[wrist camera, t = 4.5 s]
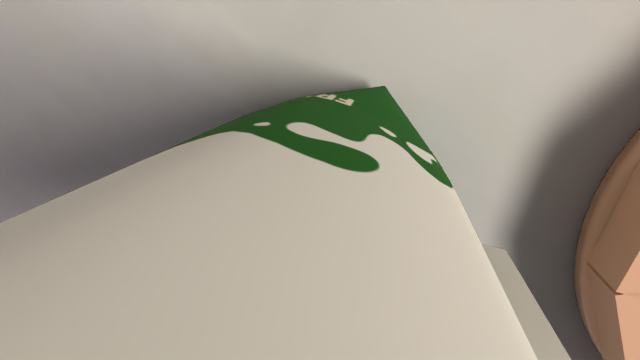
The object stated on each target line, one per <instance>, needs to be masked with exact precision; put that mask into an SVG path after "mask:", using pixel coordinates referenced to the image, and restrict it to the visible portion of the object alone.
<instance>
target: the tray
mask: <svg viewBox="0 0 640 360" xmlns="http://www.w3.org/2000/svg"><path fill="white" fill-rule="evenodd" d="M574 278H575V289H576V299H577V302H578V306H579V310H580V313H581V317H582V320H583V323H584V325H585V327H586V329H587V331H588V333H589V335H590V337H591V339H592V341H593V343H594V345H595V346H596V347H597V349H598V350H599V352H600V353H601V355H602V358H603V360H640V129H639V131H638V132H637V133H636V134H635V135H634V136H633V137H632V138H631V140H630V141H629V142H628V144H627V145H626V146H625V148H624V149H623V150H622V151H621V153H620V154H619V155H618V157H617V158H616V159H615V161H614V162H613V163H612V165H611V166H610V168H609V170H608V171H607V173H606V175H605V176H604V178H603V180H602V182H601V183H600V185H599V187H598V189H597V190H596V192H595V194H594V196H593V198H592V201H591V203H590V206H589V208H588V210H587V213H586V215H585V218H584V220H583V223H582V227H581V231H580V235H579V239H578V243H577V248H576V257H575V270H574Z"/></svg>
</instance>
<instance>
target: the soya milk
mask: <svg viewBox="0 0 640 360" xmlns="http://www.w3.org/2000/svg"><path fill="white" fill-rule="evenodd" d="M0 360H537V357H536V355H535V353H534V351H533V349H532V347H531V345H530V343H529V341H528V339H527V337H526V335H525V333H524V331H523V329H522V327H521V325H520V323H519V320H518V318H517V316H516V314H515V312H514V310H513V308H512V306H511V304H510V302H509V300H508V298H507V296H506V294H505V292H504V290H503V288H502V286H501V283H500V281H499V279H498V277H497V275H496V273H495V271H494V269H493V267H492V265H491V263H490V261H489V259H488V257H487V255H486V253H485V251H484V249H483V247H482V245H481V243H480V240H479V238H478V236H477V234H476V232H475V230H474V228H473V226H472V224H471V222H470V220H469V218H468V216H467V214H466V212H465V210H464V208H463V206H462V204H461V202H460V200H459V198H458V196H457V194H456V192H455V190H454V188H453V186H452V184H451V182H450V180H449V179H448V177H447V175H446V174H445V172H444V170H443V169H442V167H441V165H440V164H439V162H438V161H437V159H436V158H435V156H434V155H433V153H432V152H431V151H430V149H429V148H428V146H427V145H426V143H425V142H424V141H423V139H422V138H421V136H420V135H419V134H418V132H417V131H416V129H415V128H414V127H413V125H412V124H411V122H410V121H409V120H408V118H407V117H406V115H405V114H404V112H403V111H402V110H401V108H400V107H399V106H398V104H397V103H396V101H395V100H394V99H393V97H392V96H391V94H390V93H389V91H388V90H387V88H386V87H385V86H380V87H373V88H366V89H358V90H351V91H343V92H335V93H328V94H320V95H313V96H307V97H302V98H298V99H294V100H290V101H287V102H284V103H281V104H279V105H276V106H273V107H270V108H267V109H264V110H261V111H258V112H255V113H252V114H249V115H246V116H244V117H241V118H238V119H236V120H233V121H231V122H229V123H226V124H224V125H222V126H219V127H217V128H215V129H213V130H210V131H208V132H206V133H203V134H201V135H199V136H197V137H194V138H192V139H190V140H187V141H185V142H183V143H181V144H178V145H176V146H174V147H171V148H169V149H167V150H165V151H162V152H160V153H158V154H155V155H153V156H151V157H149V158H146V159H144V160H142V161H139V162H137V163H135V164H133V165H130V166H128V167H126V168H124V169H121V170H119V171H117V172H114V173H112V174H110V175H108V176H105V177H103V178H101V179H99V180H96V181H94V182H92V183H89V184H87V185H85V186H83V187H80V188H78V189H76V190H74V191H71V192H69V193H67V194H64V195H62V196H60V197H58V198H55V199H53V200H51V201H49V202H46V203H44V204H42V205H39V206H37V207H35V208H33V209H30V210H28V211H26V212H24V213H21V214H19V215H17V216H14V217H12V218H10V219H8V220H5V221H3V222H1V223H0Z"/></svg>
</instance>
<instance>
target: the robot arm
mask: <svg viewBox="0 0 640 360" xmlns="http://www.w3.org/2000/svg"><path fill="white" fill-rule="evenodd" d="M481 245H482V247H483V249H484V251H485V253H486V255H487V257H488V259H489V261H490V263H491V265H492V267H493V269H494V271H495V273H496V275H497V277H498V279H499V281H500V283H501V286H502V288H503V290H504V292H505V294H506V296H507V298H508V300H509V302H510V304H511V306H512V308H513V310H514V312H515V314H516V316H517V318H518V320H519V323H520V325H521V327H522V329H523V331H524V333H525V335H526V337H527V339H528V341H529V343H530V345H531V347H532V349H533V351H534V353H535V355H536V357H537V360H571V358H570V357H569V355H568V353H567V352H566V350H565V348H564V347H563V345H562V343H561V342H560V340H559V338H558V337H557V335H556V333H555V332H554V330H553V328H552V327H551V325H550V323H549V321H548V320H547V318H546V316H545V315H544V313H543V311H542V310H541V308H540V306H539V305H538V303H537V301H536V300H535V298H534V296H533V295H532V293H531V291H530V290H529V288H528V286H527V285H526V283H525V281H524V280H523V278H522V276H521V275H520V273H519V271H518V270H517V268H516V266H515V264H514V263H513V261H512V259H511V258H510V256H509V254H508V253H507V251H506V250H504V249H500V248H495V247H491V246H487V245H483V244H481Z"/></svg>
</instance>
